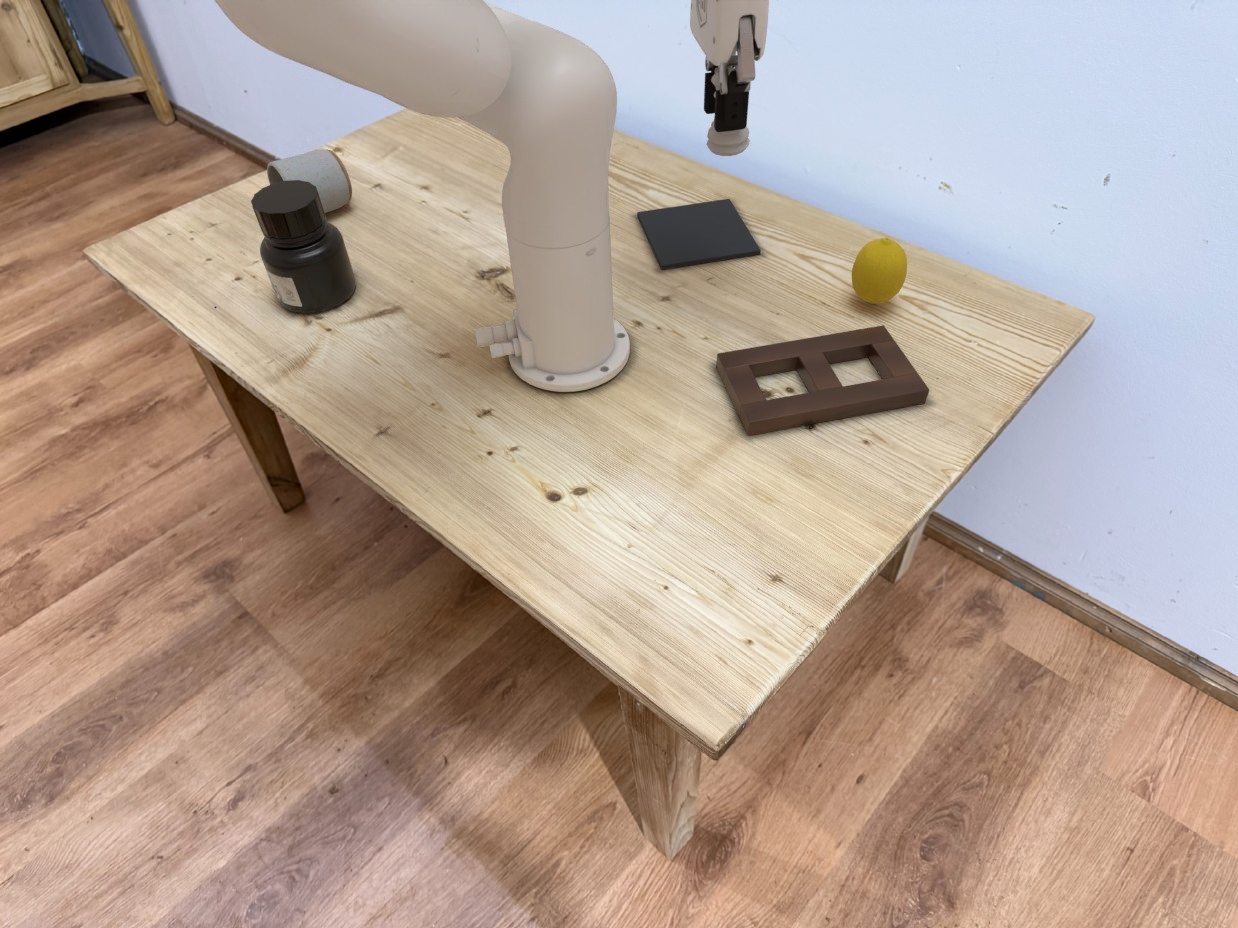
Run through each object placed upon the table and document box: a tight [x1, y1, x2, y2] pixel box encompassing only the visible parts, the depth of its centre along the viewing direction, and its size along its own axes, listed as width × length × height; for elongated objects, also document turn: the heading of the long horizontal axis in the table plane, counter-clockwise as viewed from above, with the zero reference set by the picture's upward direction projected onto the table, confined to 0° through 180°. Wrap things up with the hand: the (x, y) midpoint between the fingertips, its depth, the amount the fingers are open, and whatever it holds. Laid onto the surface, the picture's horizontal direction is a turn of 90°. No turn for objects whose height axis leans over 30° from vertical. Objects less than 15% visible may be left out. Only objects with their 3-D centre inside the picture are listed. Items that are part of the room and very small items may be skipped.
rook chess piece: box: [706, 65, 751, 157], centre depth 85 cm, size 4×4×8 cm
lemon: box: [851, 237, 908, 305], centre depth 90 cm, size 6×6×8 cm
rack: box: [715, 324, 930, 436], centre depth 83 cm, size 10×18×2 cm, turn 103°
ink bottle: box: [250, 180, 357, 314], centre depth 93 cm, size 10×9×12 cm
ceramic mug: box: [266, 148, 353, 214], centre depth 107 cm, size 11×8×8 cm
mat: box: [636, 198, 762, 271], centre depth 103 cm, size 12×12×1 cm
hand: (724, 118), depth 86 cm, fingers closed on rook chess piece, 3 cm apart
